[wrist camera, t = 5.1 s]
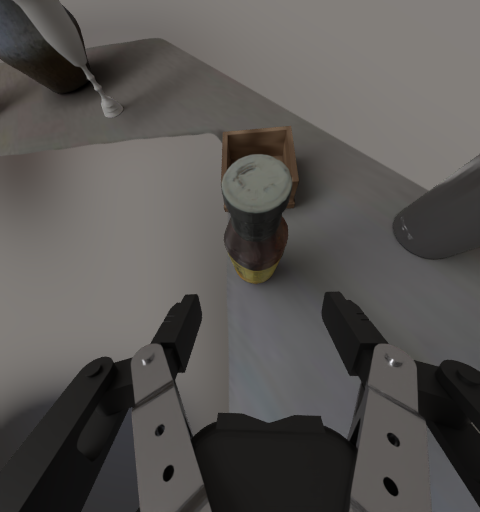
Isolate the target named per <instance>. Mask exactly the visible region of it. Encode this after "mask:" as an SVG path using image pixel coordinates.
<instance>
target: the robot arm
mask: <svg viewBox="0 0 480 512" xmlns="http://www.w3.org/2000/svg"><path fill="white" fill-rule="evenodd" d="M393 229H394V233H395V236H396V238H397V239H398V241H399V242H400V244H401V245H403V246H404V247H405V248H406V249H407V250H409V251H410V252H411V253H413V254H415V255H417V256H420V257H423V258H428V259H441V258H446V257H449V256H452V255H455V254H458V253H462V252H465V251H468V250H471V249H474V248H478V247H480V154H479V155H478V156H476V157H475V158H474V159H472V160H471V161H470V162H468V163H467V164H465V165H464V166H463V167H461V168H460V169H459V170H457V171H456V172H454V173H453V174H452V175H451V176H449V177H448V178H446V179H445V180H444V181H442V182H441V183H439V184H438V185H437V186H435V187H434V188H433V189H431V190H430V191H428V192H427V193H426V194H424V195H423V196H421V197H420V198H419V199H417V200H416V201H415V202H413V203H412V204H411V205H409V206H408V207H406V208H405V209H404V210H402V211H401V212H400V213H399V214H398V215H397V216H396V217H395V220H394V223H393ZM322 319H323V322H324V324H325V326H326V328H327V330H328V332H329V334H330V336H331V338H332V340H333V342H334V344H335V347H336V349H337V351H338V353H339V355H340V357H341V359H342V361H343V363H344V365H345V367H346V369H347V371H348V373H349V375H350V376H359V378H360V380H361V384H360V388H359V392H358V397H357V402H356V406H355V411H354V415H353V420H352V424H351V427H350V430H349V434H348V437H347V439H346V438H344V437H343V436H342V435H341V434H339V433H337V432H336V431H334V430H332V429H330V428H328V427H326V426H323V423H322V419H321V416H304V415H294V416H290V417H287V418H284V419H281V420H278V421H275V422H271V423H267V422H264V421H261V420H259V419H256V418H253V417H250V416H248V415H245V414H240V413H218V418H217V422H214V423H212V424H209V425H207V426H206V427H204V428H203V429H201V430H200V431H199V432H198V433H197V434H195V436H193V433H192V430H191V427H190V424H189V422H188V419H187V416H186V413H185V410H184V407H183V404H182V400H181V397H180V394H179V391H178V388H177V385H176V382H175V379H176V376H177V373H184V372H185V370H186V367H187V364H188V361H189V358H190V355H191V352H192V349H193V346H194V343H195V339H196V336H197V333H198V330H199V327H200V324H201V321H202V311H201V306H200V302H199V297H198V295H197V294H191V295H185V296H184V298H183V300H182V301H181V303H176V304H175V305H174V306H173V307H172V308H171V309H170V311H169V312H168V314H167V316H166V318H165V319H164V322H163V323H162V324H161V326H160V328H159V329H158V331H157V333H156V335H155V337H154V338H153V340H152V342H151V344H149V345H146V346H144V347H143V348H141V349H140V350H139V351H138V352H137V353H136V354H135V355H134V357H132V358H129V359H126V360H122V361H119V362H115V363H114V362H113V360H112V359H111V358H109V357H101V358H98V359H95V360H93V361H92V362H90V363H89V364H87V365H86V366H85V367H84V368H83V369H82V370H81V371H80V372H79V373H78V374H77V376H76V377H75V378H74V379H73V381H72V382H71V383H70V384H69V386H68V387H67V388H66V389H65V391H64V392H63V393H62V394H61V396H60V397H59V398H58V400H57V401H56V402H55V403H54V405H53V406H52V407H51V408H50V410H49V411H48V412H47V413H46V415H45V416H44V417H43V419H42V420H41V421H40V422H39V424H38V425H37V426H36V427H35V429H34V430H33V431H32V432H31V434H30V435H29V436H28V437H27V439H26V440H25V441H24V442H23V444H22V445H21V446H20V447H19V449H18V450H17V451H16V453H15V454H14V455H13V456H12V457H11V459H10V460H9V461H8V463H7V464H6V465H5V466H4V468H3V469H2V470H1V471H0V512H81V511H82V508H83V506H84V504H85V502H86V500H87V497H88V496H89V493H90V491H91V489H92V487H93V485H94V483H95V480H96V478H97V476H98V474H99V472H100V470H101V467H102V465H103V463H104V461H105V459H106V457H107V454H108V452H109V450H110V448H111V446H112V444H113V441H114V439H115V437H116V435H117V433H118V431H119V429H120V426H121V424H122V422H123V420H124V418H125V416H126V413H127V411H128V409H129V408H131V407H133V408H132V424H133V435H134V446H135V457H136V468H137V478H138V491H139V502H140V507H139V508H138V510H137V511H136V512H432V508H431V492H430V476H429V460H428V444H427V428H426V425H427V426H428V428H429V429H430V431H431V433H432V434H433V436H434V437H435V439H436V440H437V442H438V443H439V445H440V447H441V448H442V450H443V451H444V453H445V454H446V456H447V457H448V459H449V461H450V462H451V464H452V465H453V467H454V468H455V470H456V471H457V473H458V475H459V476H460V478H461V479H462V481H463V482H464V484H465V485H466V487H467V489H468V490H469V492H470V493H471V495H472V496H473V498H474V499H475V501H476V502H477V504H478V506H479V507H480V434H479V433H478V431H477V430H476V429H475V428H474V427H473V425H472V424H471V422H472V423H473V424H474V425H475V426H476V427H477V429H478V430H479V431H480V372H479V371H478V370H476V369H474V368H473V367H471V366H469V365H467V364H464V363H461V362H458V361H454V360H444V361H443V362H442V363H441V364H440V366H439V367H438V366H434V365H430V364H426V363H422V362H419V361H415V360H413V359H412V358H411V357H410V356H409V355H408V354H407V353H406V352H404V351H403V350H401V349H399V348H397V347H395V346H393V345H389V344H388V342H387V341H386V340H385V339H384V337H383V336H382V335H381V334H380V332H379V331H378V330H377V329H376V327H375V326H374V325H373V324H372V322H371V321H369V319H368V317H367V316H366V315H364V312H363V311H362V310H361V309H360V307H359V306H358V305H356V304H355V303H353V302H352V301H351V300H346V299H345V298H344V296H343V295H342V294H341V293H340V292H326V293H325V295H324V301H323V306H322Z"/></svg>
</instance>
